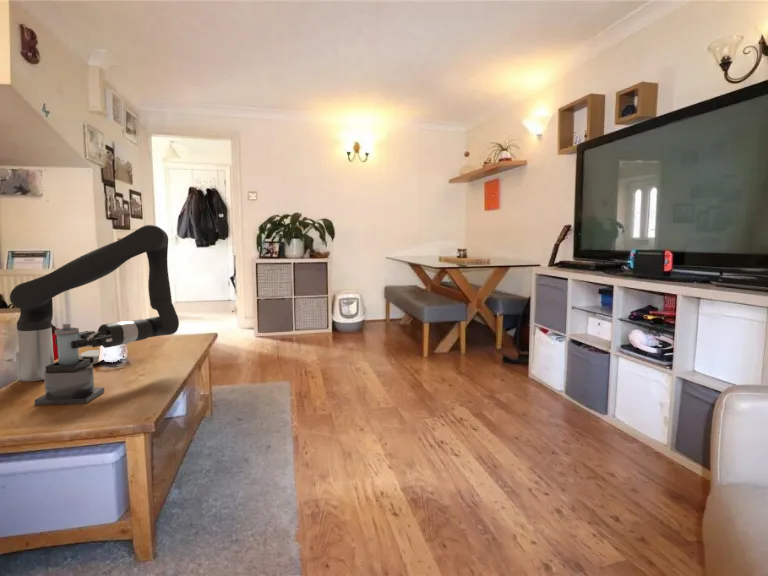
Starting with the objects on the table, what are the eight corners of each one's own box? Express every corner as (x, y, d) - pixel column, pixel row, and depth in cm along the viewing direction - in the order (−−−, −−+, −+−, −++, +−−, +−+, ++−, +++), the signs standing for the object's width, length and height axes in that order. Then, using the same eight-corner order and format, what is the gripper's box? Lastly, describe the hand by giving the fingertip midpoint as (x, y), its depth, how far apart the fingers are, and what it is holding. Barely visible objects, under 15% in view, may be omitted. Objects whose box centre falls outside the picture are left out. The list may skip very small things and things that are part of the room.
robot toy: (128, 360, 180) (86, 359, 176) (129, 349, 180) (86, 348, 176) (118, 368, 168) (73, 368, 164) (119, 357, 168) (73, 356, 164)
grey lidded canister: (52, 371, 130) (49, 326, 128) (64, 366, 136) (62, 322, 134) (74, 371, 130) (71, 325, 129) (85, 366, 136) (82, 322, 135)
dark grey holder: (32, 406, 127) (29, 368, 126) (62, 389, 141) (60, 356, 140) (84, 404, 129) (82, 367, 128) (109, 388, 143) (107, 355, 141)
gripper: (104, 320, 148) (49, 328, 134) (131, 324, 142) (76, 333, 127) (106, 342, 149) (51, 352, 135) (132, 347, 142) (77, 359, 128)
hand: (63, 343), depth 131 cm, fingers open, 8 cm apart
